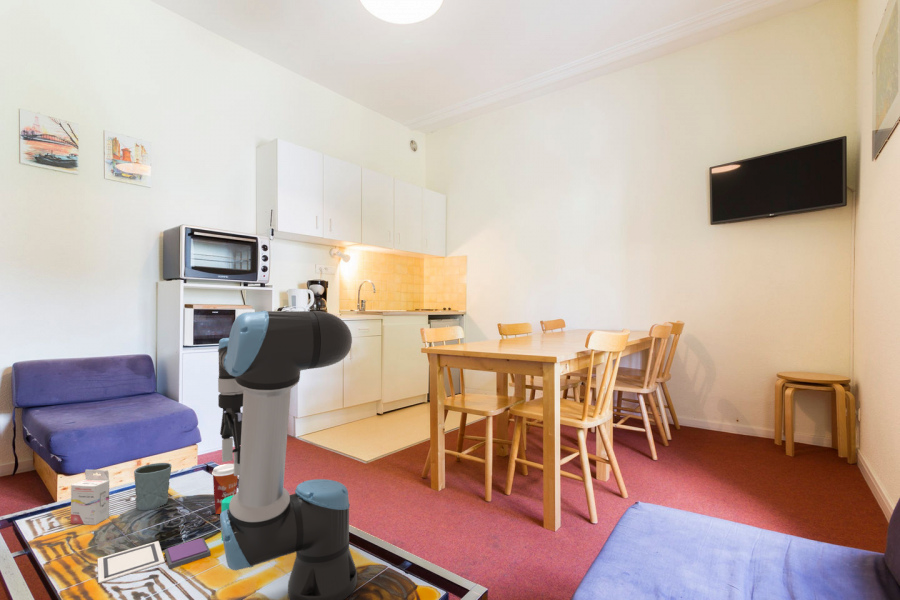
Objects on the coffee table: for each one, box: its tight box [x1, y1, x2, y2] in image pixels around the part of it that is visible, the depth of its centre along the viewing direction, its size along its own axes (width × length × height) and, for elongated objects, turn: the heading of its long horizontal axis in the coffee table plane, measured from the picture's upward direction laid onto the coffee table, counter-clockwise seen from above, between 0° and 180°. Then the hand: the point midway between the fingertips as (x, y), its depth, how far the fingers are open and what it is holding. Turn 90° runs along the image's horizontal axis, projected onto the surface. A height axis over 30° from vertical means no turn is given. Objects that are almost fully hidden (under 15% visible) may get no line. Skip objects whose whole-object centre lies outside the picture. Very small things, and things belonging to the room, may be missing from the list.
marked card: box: [97, 540, 166, 584], centre depth 110 cm, size 13×13×1 cm
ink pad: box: [164, 537, 211, 570], centre depth 113 cm, size 9×9×1 cm
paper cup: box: [211, 463, 239, 515], centre depth 137 cm, size 8×8×14 cm
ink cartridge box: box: [70, 469, 110, 526], centre depth 132 cm, size 9×5×15 cm, turn 84°
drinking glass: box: [133, 462, 172, 511], centre depth 143 cm, size 10×10×12 cm
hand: (233, 467), depth 122 cm, fingers open, 13 cm apart
